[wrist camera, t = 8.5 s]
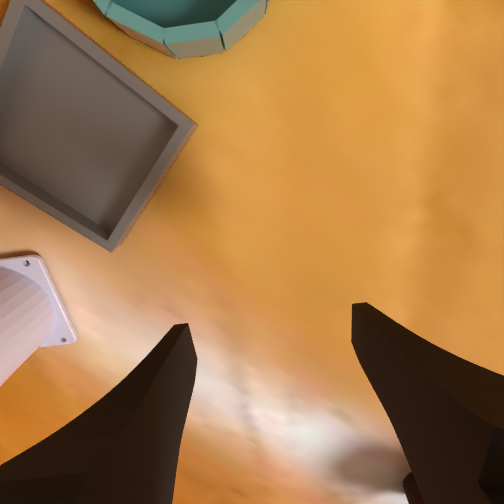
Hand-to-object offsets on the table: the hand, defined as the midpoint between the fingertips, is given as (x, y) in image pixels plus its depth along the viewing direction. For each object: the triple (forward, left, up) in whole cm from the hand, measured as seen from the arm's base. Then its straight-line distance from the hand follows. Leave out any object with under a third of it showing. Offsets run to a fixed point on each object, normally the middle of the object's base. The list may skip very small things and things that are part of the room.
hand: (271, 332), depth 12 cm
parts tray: (-10, +9, -9) cm, 16 cm away
